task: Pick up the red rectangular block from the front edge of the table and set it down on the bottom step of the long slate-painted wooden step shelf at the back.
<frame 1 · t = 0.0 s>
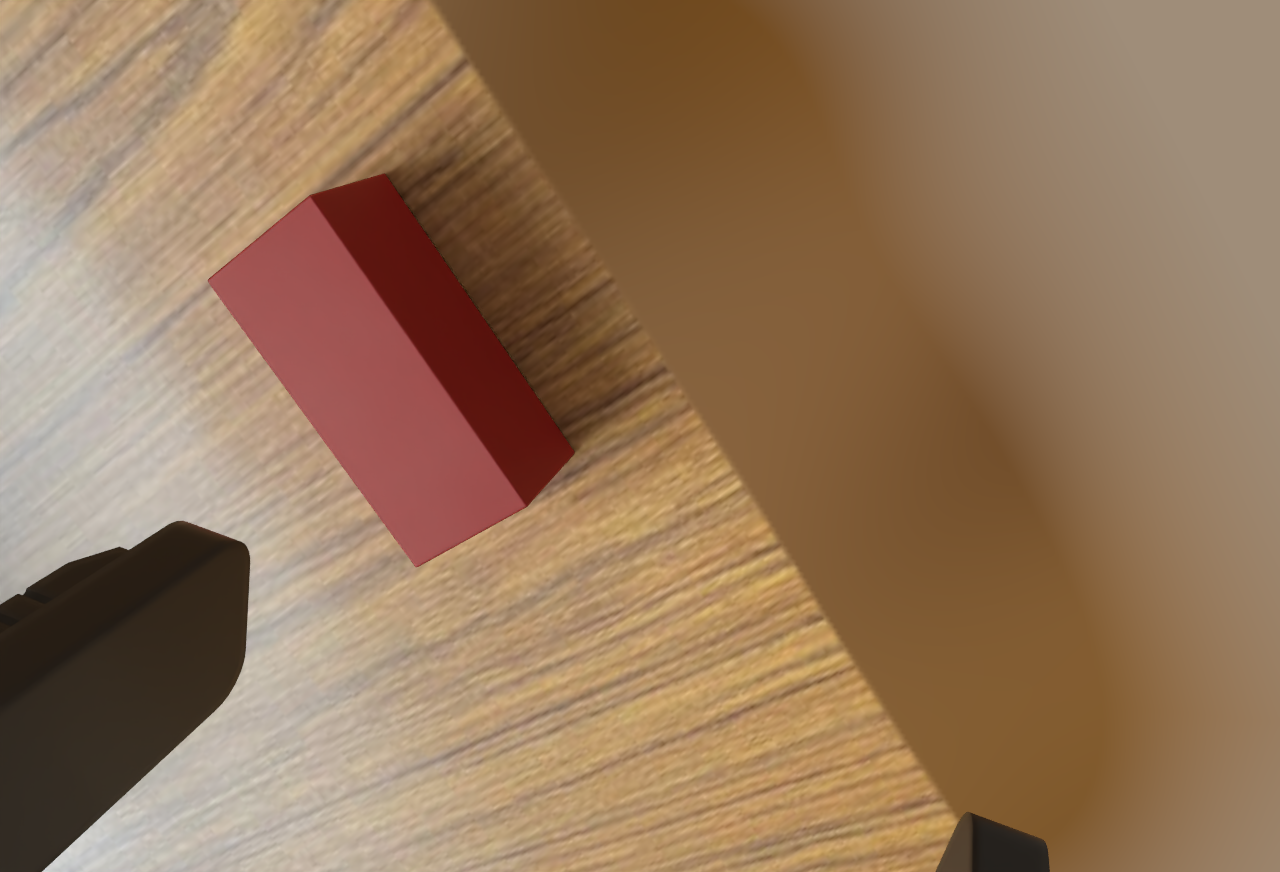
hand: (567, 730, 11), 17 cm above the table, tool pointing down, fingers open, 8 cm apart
red rectangular block: (431, 351, 29), on the table
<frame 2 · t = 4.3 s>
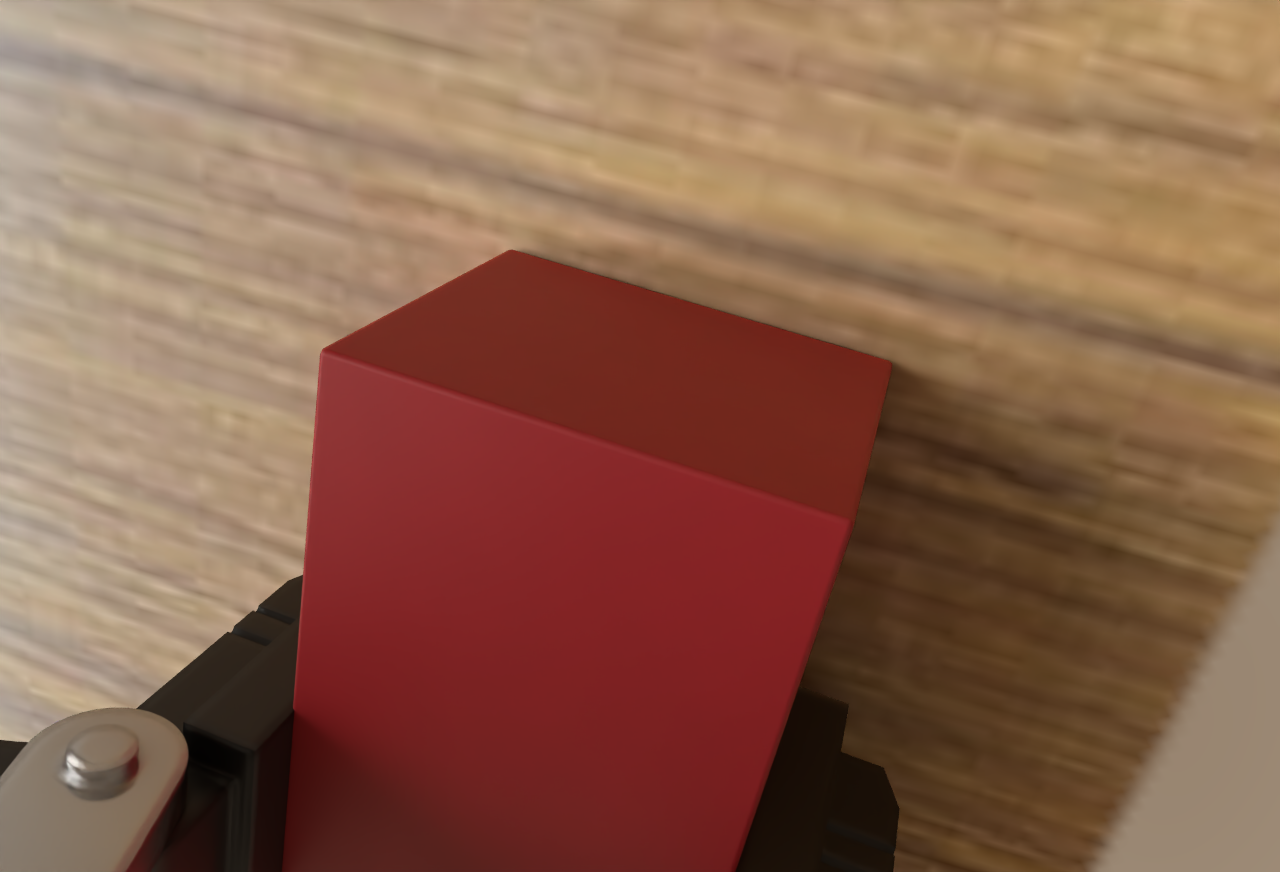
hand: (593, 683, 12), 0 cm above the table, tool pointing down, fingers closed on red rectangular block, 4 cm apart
red rectangular block: (609, 662, 12), on the table, touching gripper
when the fingers open (5 cm above the table, at t = 12.9 s): red rectangular block stays where it is, resting on shelf.
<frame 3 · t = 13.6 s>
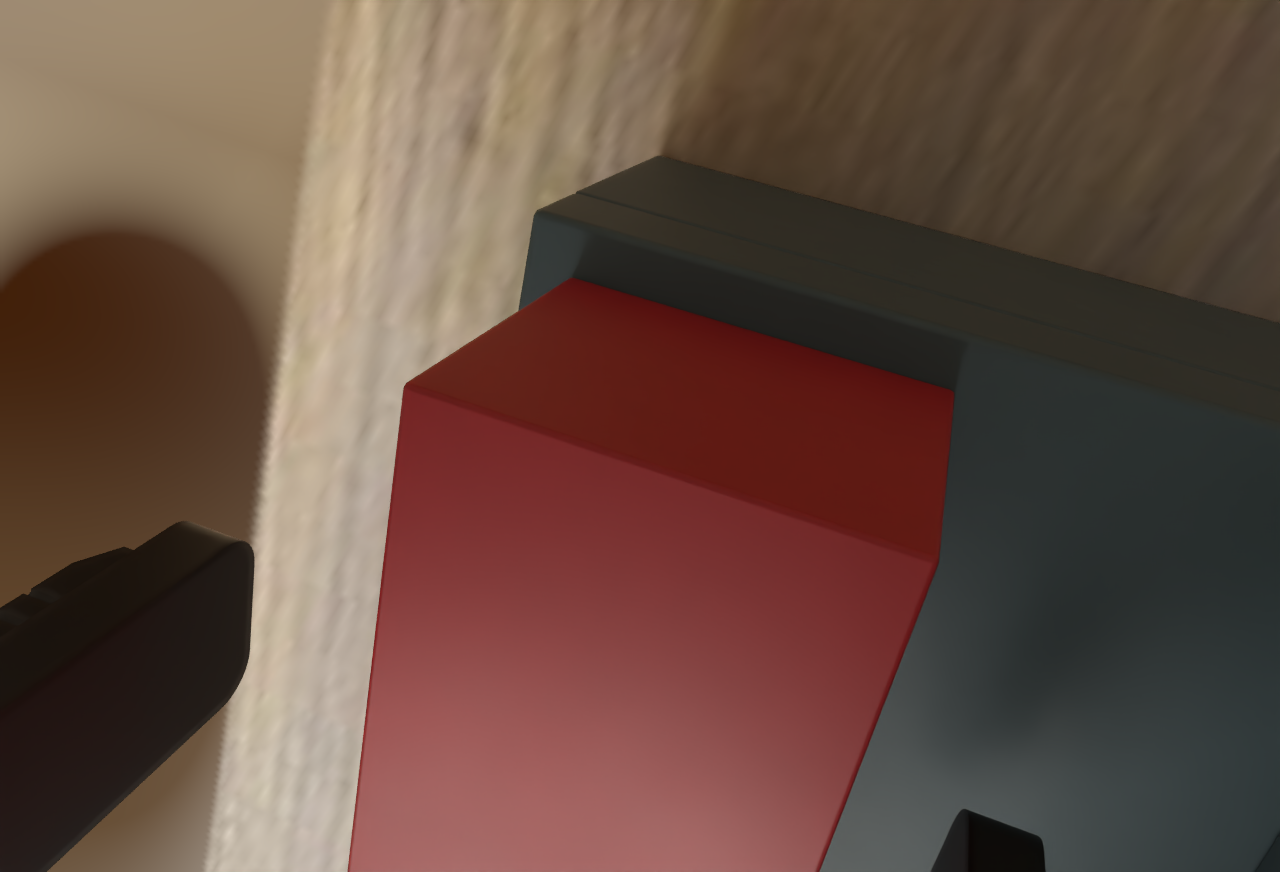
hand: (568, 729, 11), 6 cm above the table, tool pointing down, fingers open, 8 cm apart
red rectangular block: (661, 685, 12), point 4 cm above the table, touching shelf
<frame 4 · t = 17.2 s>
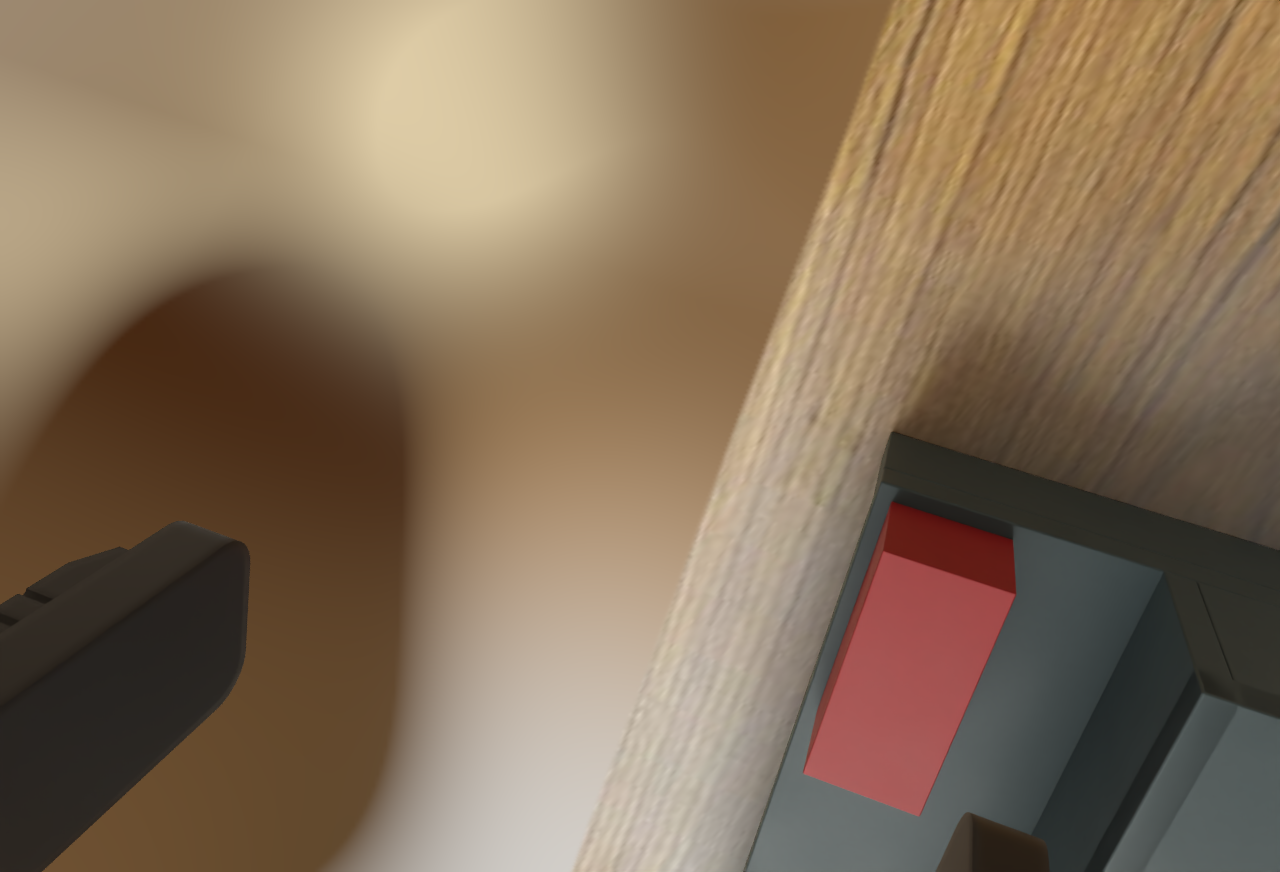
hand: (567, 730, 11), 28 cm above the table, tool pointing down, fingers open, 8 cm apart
red rectangular block: (908, 630, 36), point 4 cm above the table, touching shelf
shelf: (995, 788, 43), on the table
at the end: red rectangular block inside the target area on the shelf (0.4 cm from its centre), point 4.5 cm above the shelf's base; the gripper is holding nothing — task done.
